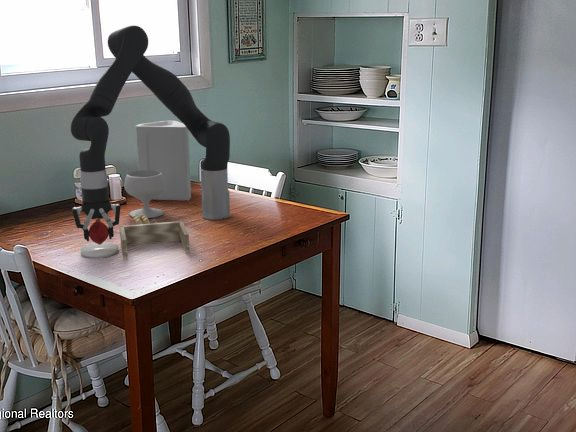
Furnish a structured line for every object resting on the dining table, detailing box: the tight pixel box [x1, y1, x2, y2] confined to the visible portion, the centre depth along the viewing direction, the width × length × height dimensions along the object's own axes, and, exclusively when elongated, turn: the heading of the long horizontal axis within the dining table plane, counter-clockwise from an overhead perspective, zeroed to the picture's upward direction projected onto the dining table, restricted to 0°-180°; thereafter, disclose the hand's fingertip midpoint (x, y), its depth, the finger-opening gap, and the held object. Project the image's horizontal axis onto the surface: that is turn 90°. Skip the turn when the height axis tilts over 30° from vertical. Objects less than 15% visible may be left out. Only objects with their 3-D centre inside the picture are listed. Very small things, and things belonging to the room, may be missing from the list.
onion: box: [88, 218, 109, 245], centre depth 205 cm, size 6×6×8 cm
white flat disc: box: [80, 241, 120, 259], centre depth 207 cm, size 11×11×1 cm
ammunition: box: [131, 213, 158, 225], centre depth 228 cm, size 5×7×8 cm
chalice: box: [123, 169, 165, 219], centre depth 242 cm, size 14×14×15 cm
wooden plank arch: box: [119, 220, 191, 261], centre depth 208 cm, size 19×14×6 cm
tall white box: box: [135, 120, 192, 201], centre depth 266 cm, size 19×15×28 cm
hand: (99, 239), depth 206 cm, fingers closed on onion, 6 cm apart
